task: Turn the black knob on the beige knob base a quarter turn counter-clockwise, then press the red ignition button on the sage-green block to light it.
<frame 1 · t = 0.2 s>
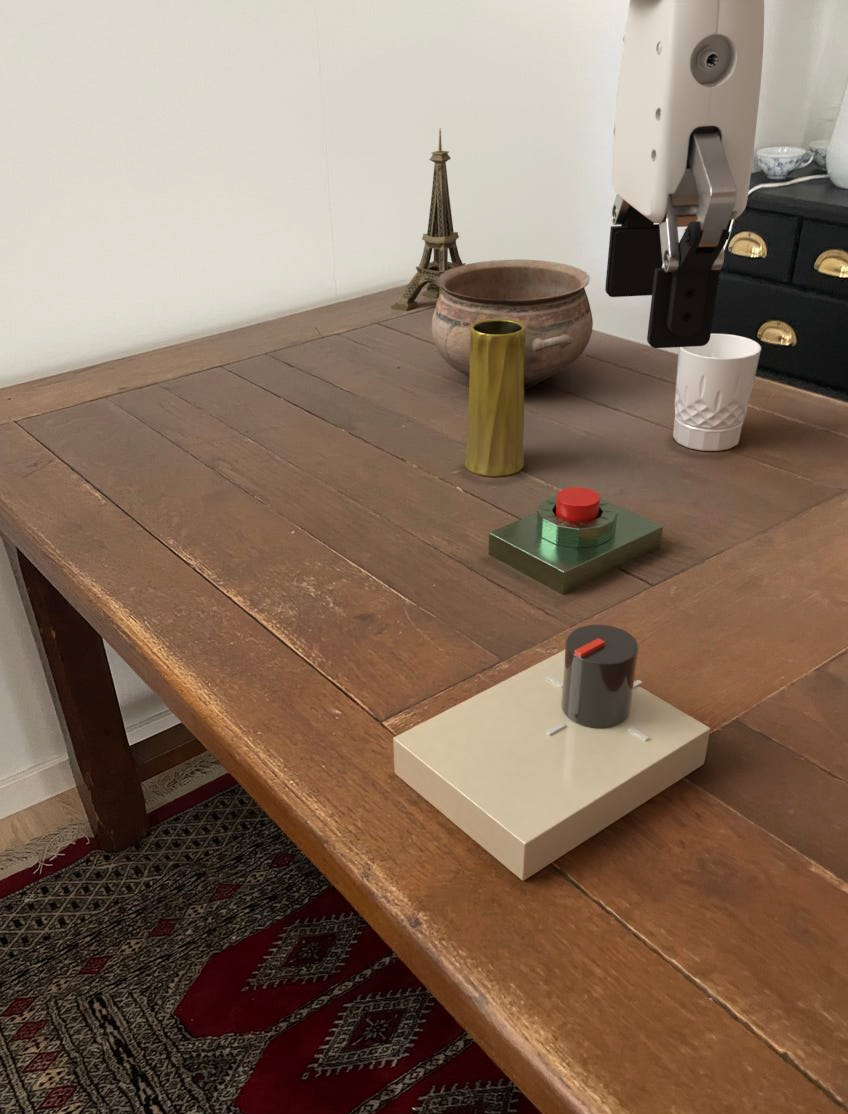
hand: (653, 318, 58), 26 cm above the table, tool pointing down, fingers open, 9 cm apart
beige knob base: (548, 768, 66), on the table
vase: (494, 467, 105), on the table
ignition button: (577, 505, 87), point 4 cm above the table, slide at 0.1 cm
green button box: (574, 551, 89), on the table
cooking pot: (509, 382, 125), on the table
eiffel tower: (440, 305, 154), on the table
white cup: (705, 440, 108), on the table
stove knob: (598, 674, 65), point 6 cm above the table, hinge at 0.0°
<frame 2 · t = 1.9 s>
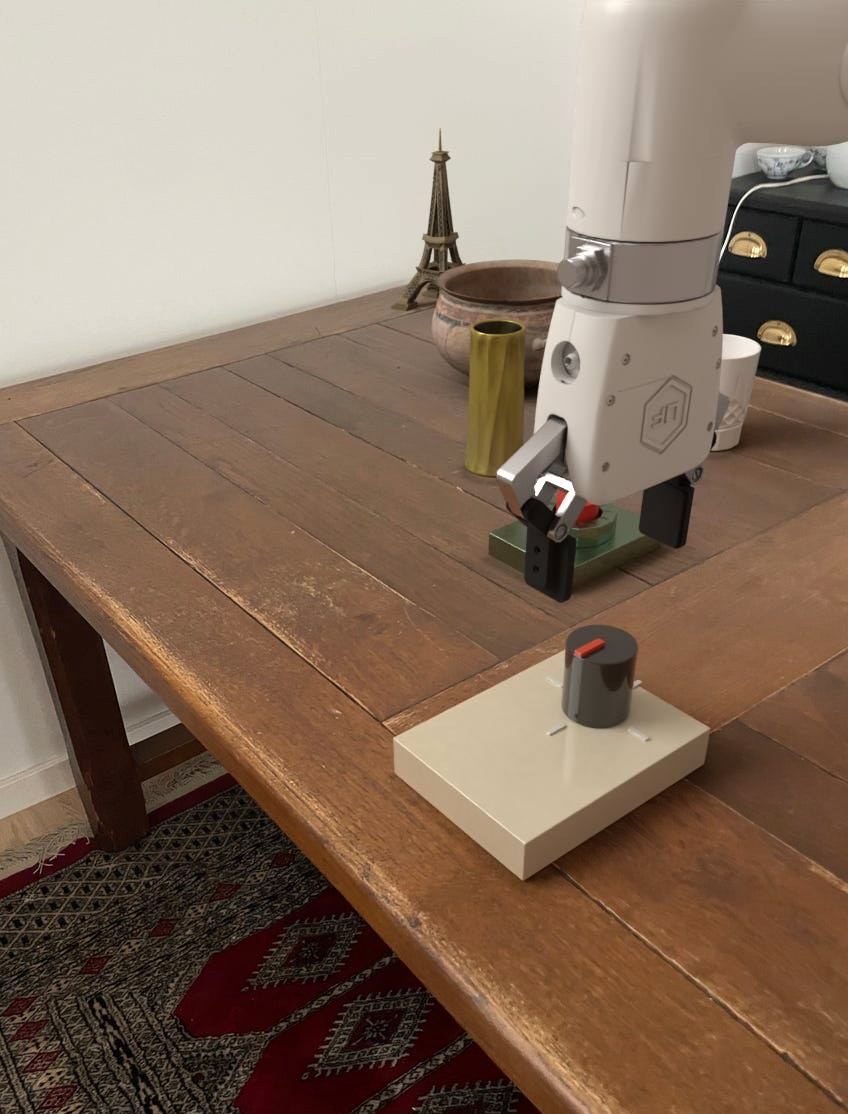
hand: (606, 564, 60), 14 cm above the table, tool pointing down, fingers open, 9 cm apart
nothing on the table moved.
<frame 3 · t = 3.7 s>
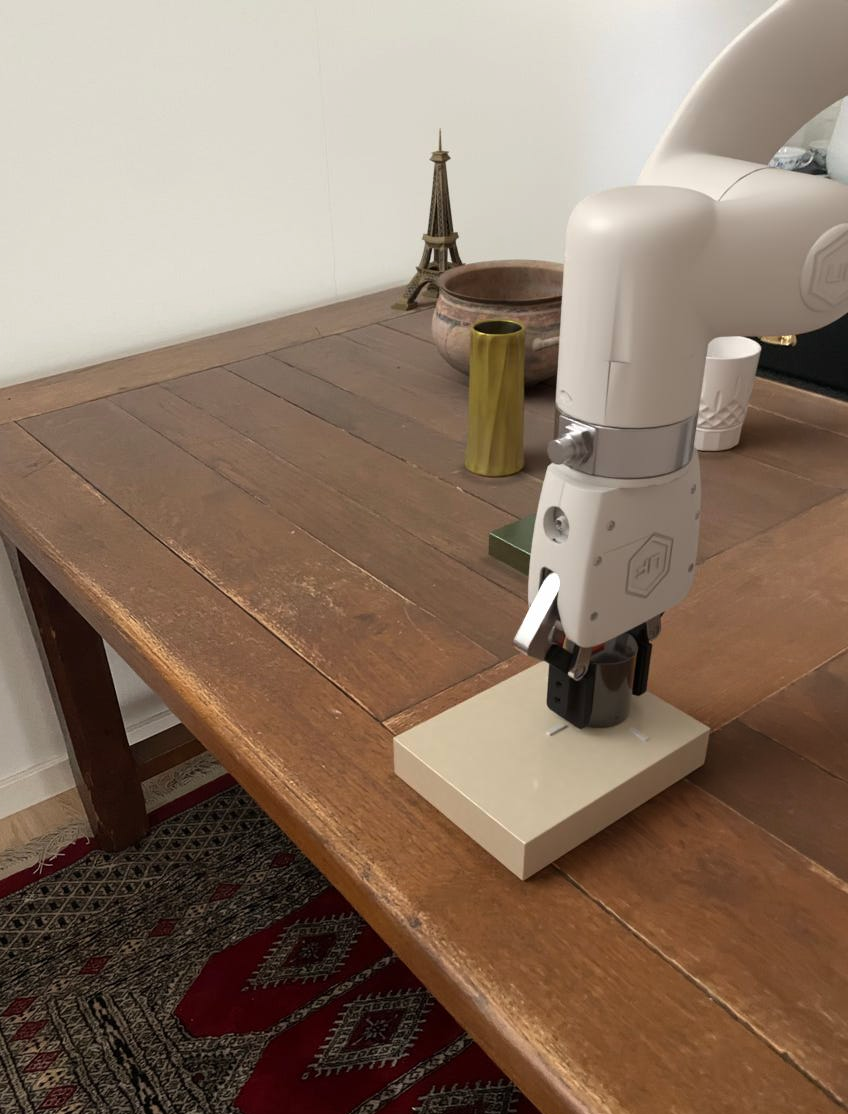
hand: (596, 698, 66), 4 cm above the table, tool pointing down, fingers closed on stove knob, 4 cm apart
stove knob: (598, 674, 65), point 6 cm above the table, hinge at 0.0°, touching gripper
everything else where it was.
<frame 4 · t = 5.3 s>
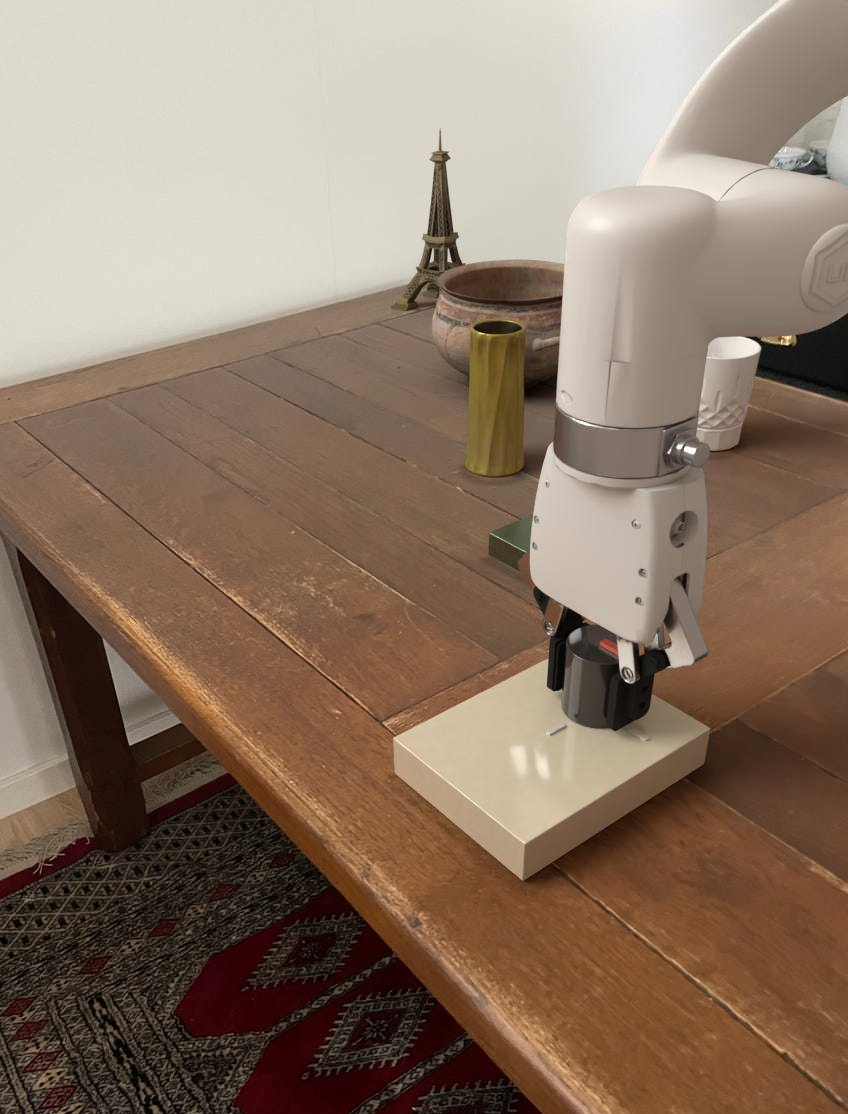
hand: (596, 698, 66), 4 cm above the table, tool pointing down, fingers closed on stove knob, 4 cm apart
stove knob: (598, 674, 65), point 6 cm above the table, hinge at 90.2°, touching gripper
everything else where it was.
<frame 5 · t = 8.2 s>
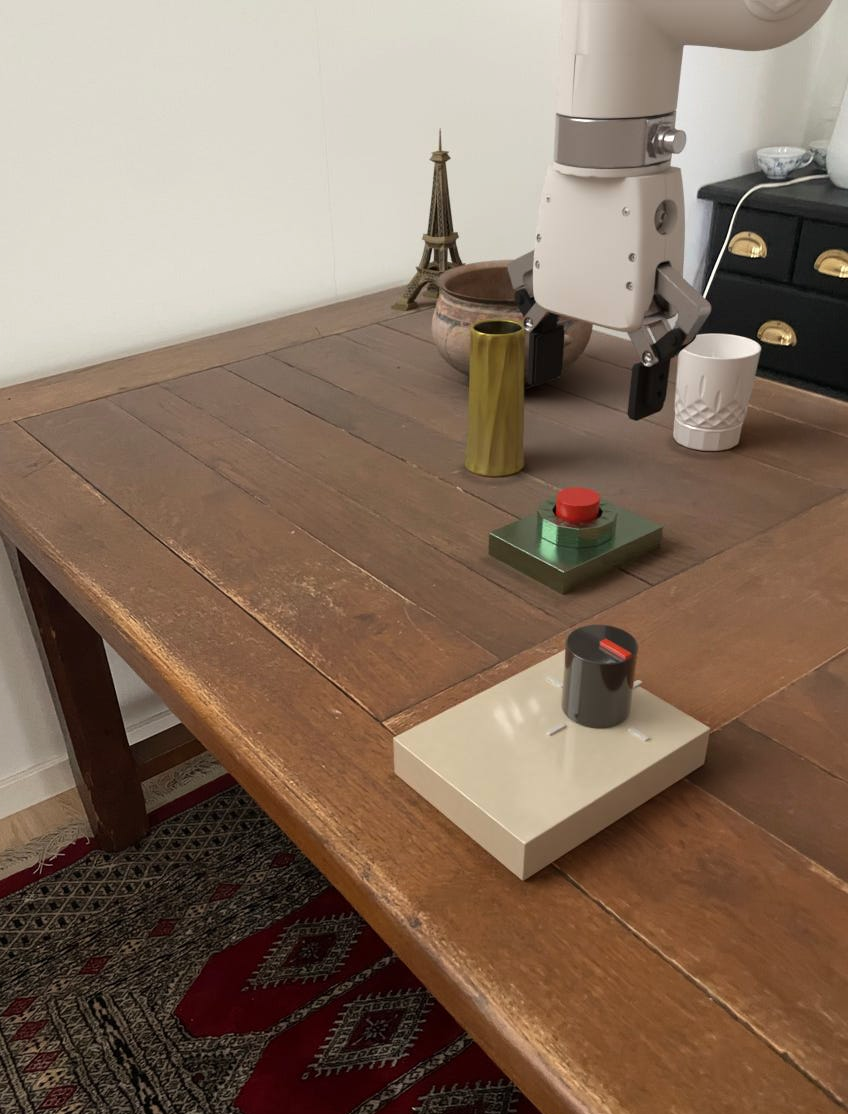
hand: (592, 397, 76), 16 cm above the table, tool pointing down, fingers open, 9 cm apart
stove knob: (598, 674, 65), point 6 cm above the table, hinge at 89.3°
everything else where it was.
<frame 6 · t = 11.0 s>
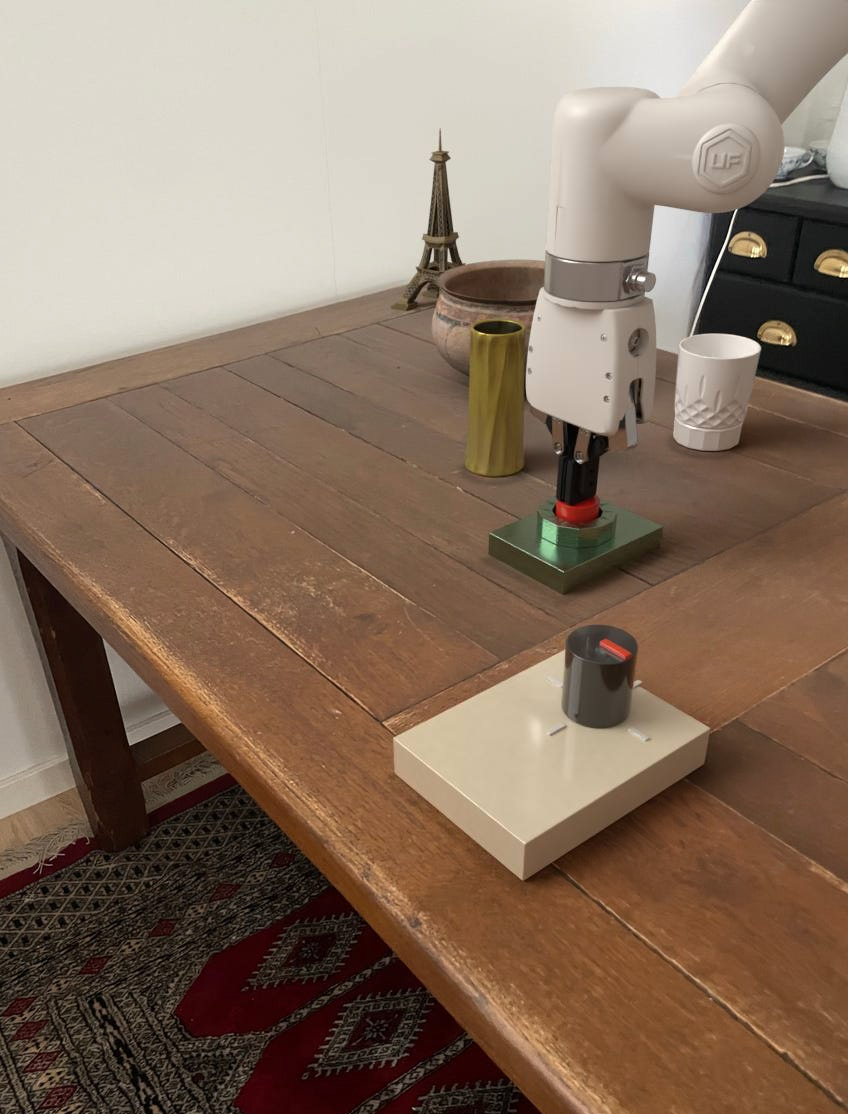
hand: (575, 497, 87), 5 cm above the table, tool pointing down, fingers closed
ignition button: (577, 507, 87), point 4 cm above the table, slide at -0.1 cm, touching gripper
everything else where it was.
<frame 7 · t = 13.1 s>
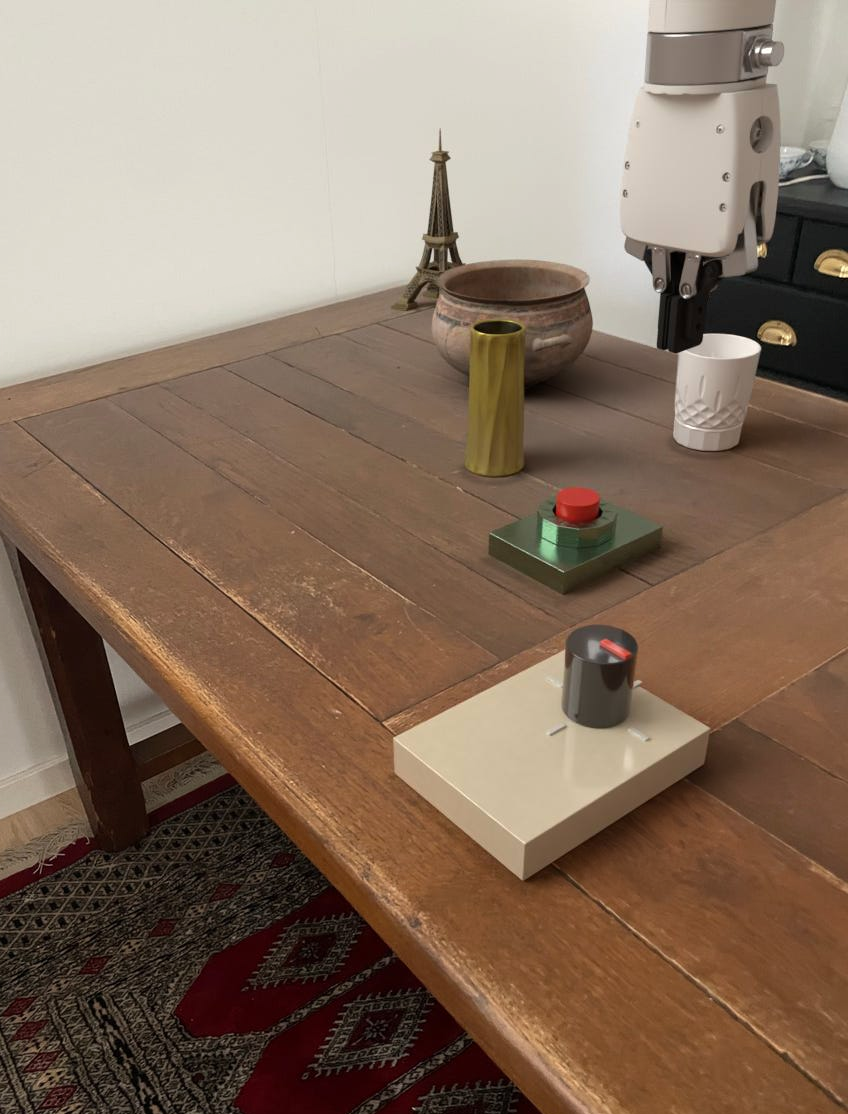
hand: (679, 346, 75), 19 cm above the table, tool pointing down, fingers closed
ignition button: (577, 505, 87), point 4 cm above the table, slide at 0.1 cm
everything else where it was.
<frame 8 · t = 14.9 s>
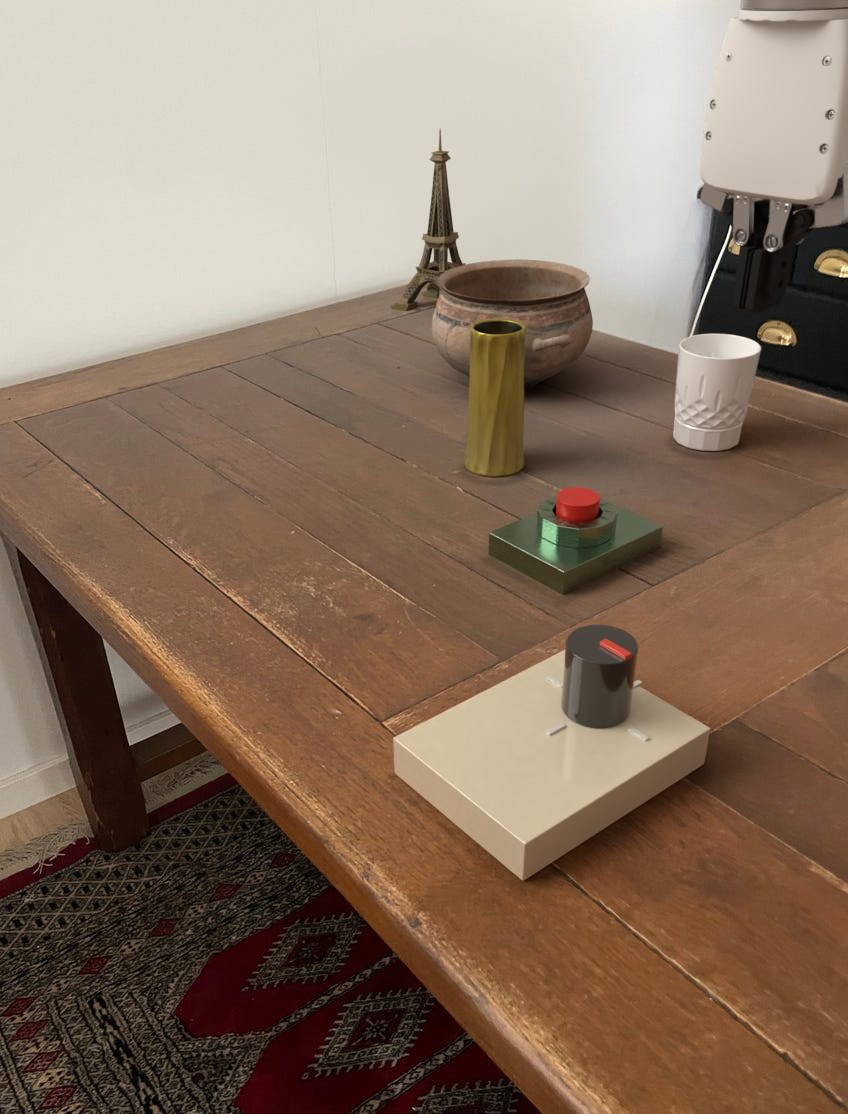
hand: (756, 305, 70), 23 cm above the table, tool pointing down, fingers closed
nothing on the table moved.
at the end: stove knob at +89° (first picture: +0°); ignition button pushed in 1.1 cm at the most during the clip, back to where it started at the end; ignition button slide at 0.1 cm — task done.
